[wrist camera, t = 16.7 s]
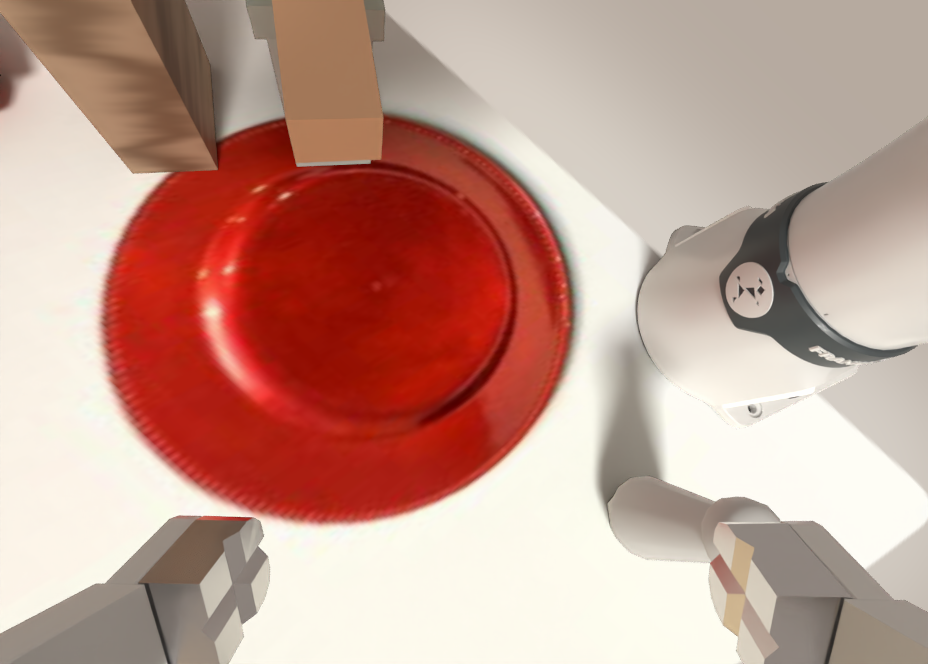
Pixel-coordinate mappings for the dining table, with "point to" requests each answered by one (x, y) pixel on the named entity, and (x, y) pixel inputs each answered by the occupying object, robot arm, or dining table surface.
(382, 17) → the low stand
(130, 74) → the tall stand
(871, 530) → the dining table surface
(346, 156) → the bar
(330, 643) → the dining table surface
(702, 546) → the salt shaker
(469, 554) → the dining table surface
